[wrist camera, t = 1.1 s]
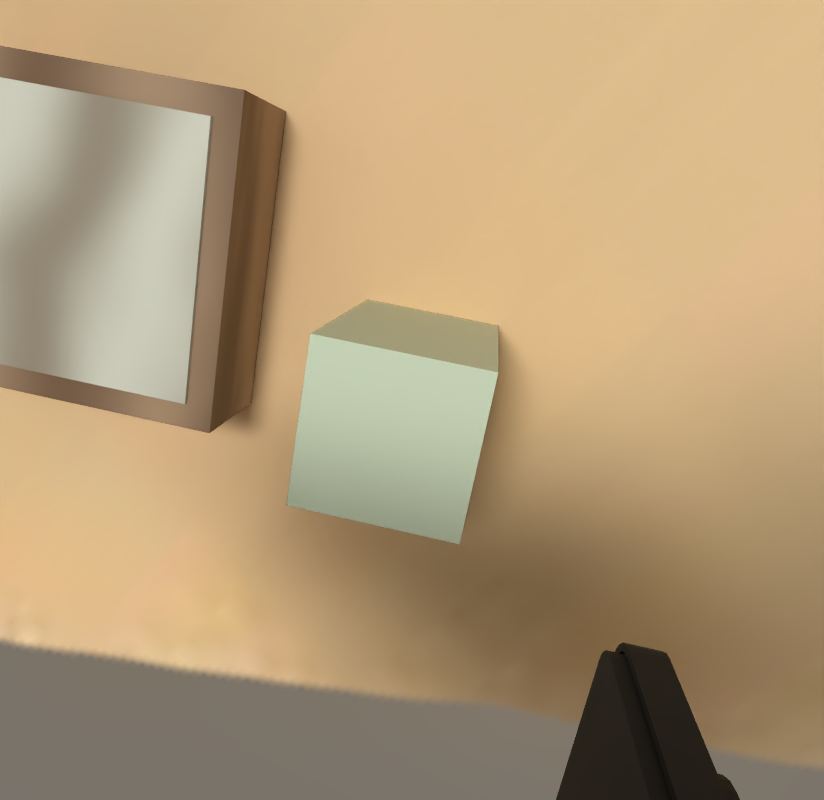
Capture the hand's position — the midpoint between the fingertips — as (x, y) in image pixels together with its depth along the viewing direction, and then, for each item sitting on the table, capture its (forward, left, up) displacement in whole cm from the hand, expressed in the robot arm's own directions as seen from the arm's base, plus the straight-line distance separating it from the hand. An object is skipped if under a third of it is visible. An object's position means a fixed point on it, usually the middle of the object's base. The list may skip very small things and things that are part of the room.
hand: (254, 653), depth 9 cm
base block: (+12, -3, -17) cm, 21 cm away
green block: (0, 0, -17) cm, 17 cm away
